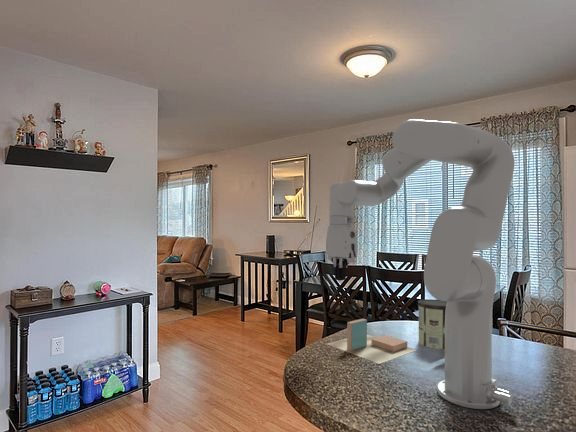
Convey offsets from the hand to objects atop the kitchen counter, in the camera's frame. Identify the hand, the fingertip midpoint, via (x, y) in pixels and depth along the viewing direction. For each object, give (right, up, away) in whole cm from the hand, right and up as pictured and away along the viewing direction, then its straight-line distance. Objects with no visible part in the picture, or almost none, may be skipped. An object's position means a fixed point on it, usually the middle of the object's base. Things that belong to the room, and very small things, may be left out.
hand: (340, 279), depth 117 cm
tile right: (+12, -19, -1) cm, 22 cm away
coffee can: (+30, -21, -1) cm, 37 cm away
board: (+9, -21, -5) cm, 23 cm away
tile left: (+4, -19, -6) cm, 21 cm away
